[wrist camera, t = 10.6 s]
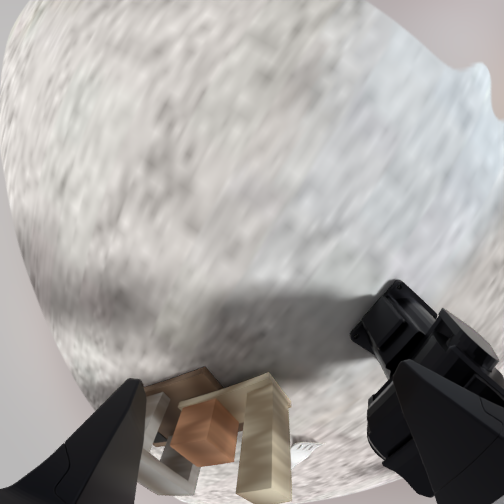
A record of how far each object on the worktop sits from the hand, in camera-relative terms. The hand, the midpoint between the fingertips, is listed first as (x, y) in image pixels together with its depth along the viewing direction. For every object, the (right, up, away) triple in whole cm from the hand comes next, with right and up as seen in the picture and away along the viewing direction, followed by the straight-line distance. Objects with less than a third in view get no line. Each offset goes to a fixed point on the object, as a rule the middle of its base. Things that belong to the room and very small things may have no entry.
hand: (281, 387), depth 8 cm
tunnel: (-10, -14, +18) cm, 25 cm away
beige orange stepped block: (-3, -10, +16) cm, 19 cm away
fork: (+4, -25, +21) cm, 33 cm away
